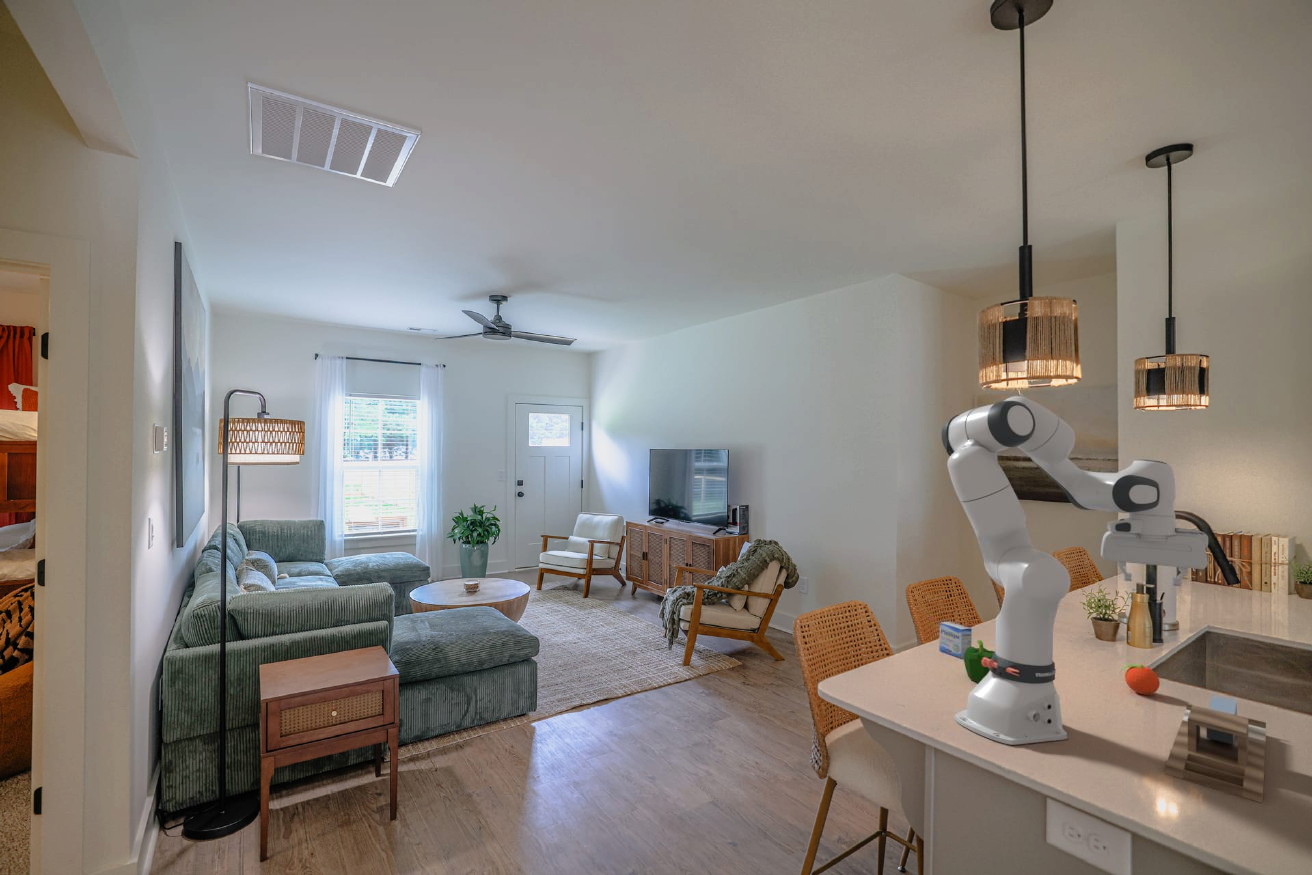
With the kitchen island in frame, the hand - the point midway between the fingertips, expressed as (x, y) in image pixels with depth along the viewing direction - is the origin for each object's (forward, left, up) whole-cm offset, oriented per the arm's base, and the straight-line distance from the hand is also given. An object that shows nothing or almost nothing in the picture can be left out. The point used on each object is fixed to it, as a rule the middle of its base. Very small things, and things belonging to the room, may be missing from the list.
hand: (1151, 583), depth 149 cm
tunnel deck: (-16, -20, -29) cm, 39 cm away
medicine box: (-14, +44, -29) cm, 55 cm away
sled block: (-7, -17, -27) cm, 33 cm away
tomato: (+5, +5, -29) cm, 30 cm away
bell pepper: (-26, +26, -29) cm, 47 cm away
